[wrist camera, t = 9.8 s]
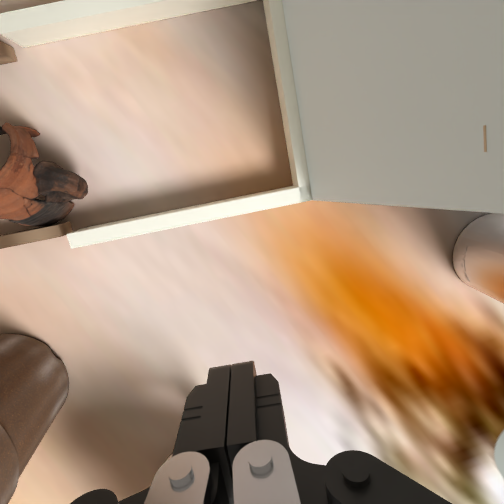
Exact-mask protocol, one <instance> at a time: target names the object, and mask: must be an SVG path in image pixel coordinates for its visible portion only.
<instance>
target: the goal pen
mask: <svg viewBox="0 0 504 504" xmlns="http://www.w3.org/2000/svg"><path fill="white" fill-rule="evenodd" d="M16 61H17V58H16V55H15V52H14V49H13V47H11V46H9V45H7V44H5V43H4V42H2V41H0V65H1V64H6V63H11V62H16ZM71 232H73V229H72V226H71V223H70V221H69V222H64V223H59V224H54V225H50V226H44V227H39V228H34V229H29V230H24V231H19V232H14V233H9V234H4V235H0V249H2V248H7V247H12V246H17V245H21V244H26V243H31V242H36V241H41V240H46V239H51V238H56V237H61V236H64V235H66V234H68V233H71Z"/></svg>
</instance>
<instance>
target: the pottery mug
mask: <svg viewBox="0 0 504 504" xmlns="http://www.w3.org/2000/svg"><path fill="white" fill-rule="evenodd" d="M3 134H8V135H9V137H10V142H11V148H10V156H9V157H8V160H7V162H6V163H5V165H4V166H3V167H2V169H1V170H0V219H9V221H12V222H14V223H18V224H20V225H25V226H50V225H53V224H56V223H57V222H59V221H61V220H62V219H64V218H65V217H66V216H67V215H68V214H69V212H70V211H71V210H72V208H73V207H74V203H72V202H69V201H70V200H72V199H83V198H84V196H86V195H87V193H88V185H87V183H86V181H85V180H84V179H83V178H82V177H80V176H79V175H77V174H75V173H73V172H70V171H67V170H63V168H61V167H60V166H58V165H57V164H56V163H54V162H46V161H41V162H39V163H38V164H37V165H36V167H34V166H33V164H32V159H37V158H39V154H38V151H37V148H36V146H35V142H34V141H33V139H32V138H31V137H36V136H39V135H40V133H38V132H37V131H36V130H33V129H30V128H28V127H23V126H12V125H11V124H9V123H5V124H4V125H3V126H2V127H1V126H0V135H3ZM39 194H41V195H45V199H46V200H39V199H35V198H36V197H38V196H39Z"/></svg>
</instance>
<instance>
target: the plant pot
mask: <svg viewBox="0 0 504 504" xmlns="http://www.w3.org/2000/svg"><path fill="white" fill-rule="evenodd" d="M68 389H69V379H68V374H67V371H66V368H65V366H64V364H63V362H62V360H60V359H58V358H56V357H55V356H54V354H53V353H52V352H51V350H50V347H48V346H47V345H45V344H44V343H42V342H40V341H38V340H36V339H34V338H31V337H28V336H24V335H19V334H0V504H8V503H9V501H10V499H11V497H12V496H13V494H14V492H15V489H16V487H17V483H18V479H19V477H20V475H21V474H22V472H23V470H24V469H25V467H26V465H27V463H28V462H29V460H30V458H31V457H32V455H33V453H34V452H35V450H36V448H37V447H38V445H39V443H40V442H41V440H42V438H43V437H44V435H45V433H46V432H47V430H48V428H49V427H50V425H51V423H52V422H53V420H54V418H55V417H56V415H57V414H58V412H59V411H60V409H61V407H62V406H63V404H64V402H65V400H66V398H67V394H68Z"/></svg>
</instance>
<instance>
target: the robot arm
mask: <svg viewBox="0 0 504 504" xmlns="http://www.w3.org/2000/svg"><path fill="white" fill-rule="evenodd" d="M453 265H454V269H455V271H456V273H457V275H458V276H459V278H460V279H461V280H462V281H463V282H464V283H465V284H467V285H468V286H470V287H472V288H474V289H476V290H478V291H480V292H482V293H484V294H486V295H488V296H490V297H492V298H494V299H496V300H498V301H500V302H502V303H504V214H502V213H491V214H486V215H484V216H481V217H479V218H477V219H476V220H474V221H473V222H471V223H470V224H469V225H468V226H467V227H466V228H465V229H464V230H463V231H462V233H461V234H460V235H459V237H458V239H457V241H456V243H455V247H454V251H453ZM70 504H452V503H450V502H448V501H447V500H445V499H443V498H442V497H440V496H438V495H437V494H435V493H433V492H432V491H430V490H429V489H427V488H425V487H424V486H422V485H420V484H419V483H417V482H415V481H414V480H412V479H410V478H409V477H407V476H406V475H404V474H402V473H401V472H399V471H397V470H396V469H394V468H392V467H391V466H389V465H387V464H386V463H384V462H383V461H381V460H379V459H378V458H376V457H374V456H372V455H370V454H368V453H365V452H362V451H354V450H352V451H344V452H341V453H339V454H337V455H335V456H334V457H332V458H331V459H330V460H329V462H328V463H327V465H326V466H325V465H318V464H312V463H308V462H306V461H303V460H301V459H300V458H298V457H297V456H296V455H295V454H294V453H293V452H292V451H291V449H290V447H289V442H288V436H287V429H286V423H285V417H284V411H283V406H282V400H281V394H280V389H279V383H278V381H277V380H276V379H275V378H274V377H273V376H272V374H264V375H258V376H257V375H256V370H255V365H254V361H249V362H243V363H237V364H232V365H225V366H219V367H213V368H210V369H209V373H208V379H207V384H204V385H198V386H195V388H194V389H193V390H192V391H191V393H190V394H189V395H188V397H187V399H186V403H185V407H184V411H183V415H182V421H181V423H180V427H179V431H178V435H177V439H176V443H175V447H174V451H173V455H172V457H171V458H170V459H168V460H167V461H166V462H165V463H164V464H163V465H162V466H161V467H160V468H159V469H158V471H157V472H156V474H155V476H154V478H153V481H152V484H151V486H150V487H149V488H147V489H145V490H143V491H141V492H139V493H137V494H135V495H133V496H130V497H128V498H126V499H124V500H122V501H119V502H118V500H117V497H116V495H115V494H114V493H113V492H112V491H110V490H107V489H97V490H93V491H90V492H88V493H85V494H83V495H82V496H80V497H78V498H77V499H75V500H74V501H73V502H72V503H70Z"/></svg>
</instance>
